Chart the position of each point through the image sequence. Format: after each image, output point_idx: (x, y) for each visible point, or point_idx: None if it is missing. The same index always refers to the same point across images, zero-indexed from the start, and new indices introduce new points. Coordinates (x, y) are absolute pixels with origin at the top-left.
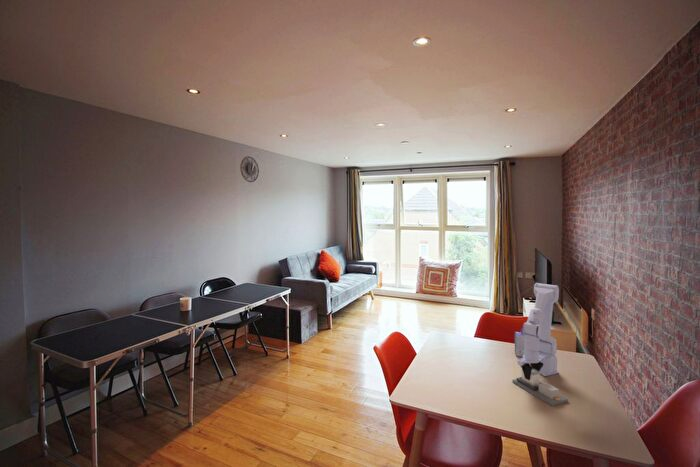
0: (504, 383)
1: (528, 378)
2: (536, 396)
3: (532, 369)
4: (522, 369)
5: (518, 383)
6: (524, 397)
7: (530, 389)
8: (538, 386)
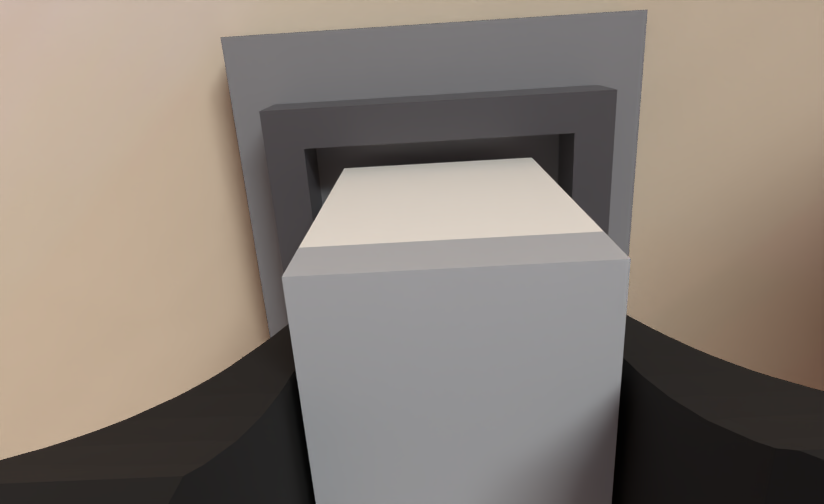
0: (48, 28)
1: None
2: None
3: (510, 494)
4: (185, 400)
5: (247, 188)
6: None
7: None
8: None
